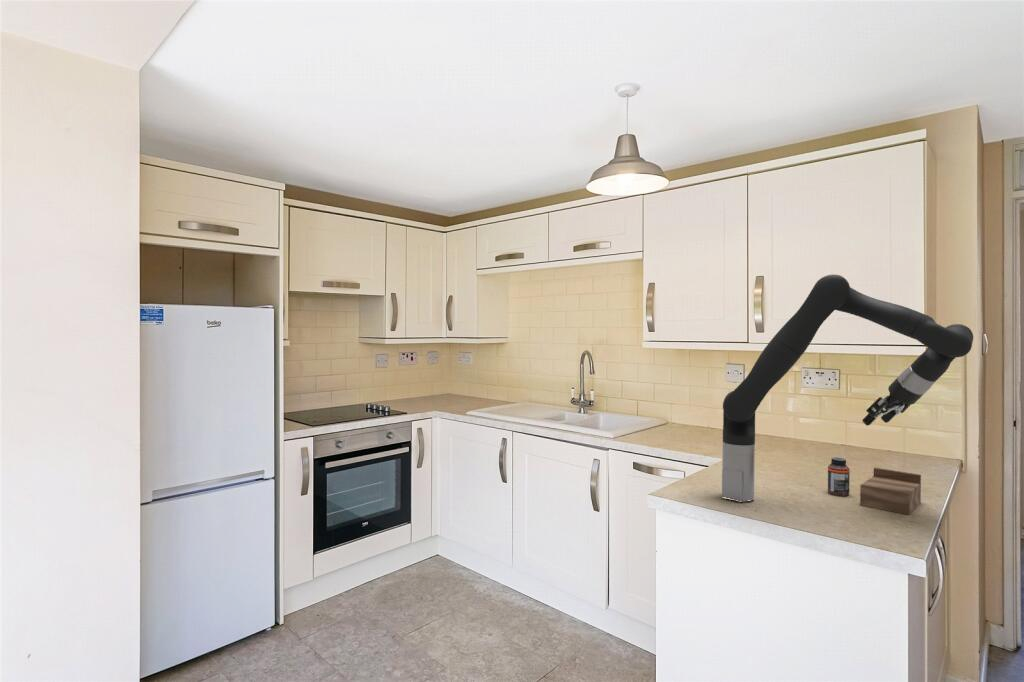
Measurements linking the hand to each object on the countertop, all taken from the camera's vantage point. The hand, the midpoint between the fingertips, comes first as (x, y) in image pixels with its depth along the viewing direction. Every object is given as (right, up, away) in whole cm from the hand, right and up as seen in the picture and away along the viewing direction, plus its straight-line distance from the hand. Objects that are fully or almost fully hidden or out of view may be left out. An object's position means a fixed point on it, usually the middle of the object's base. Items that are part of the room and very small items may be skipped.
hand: (874, 421), depth 165 cm
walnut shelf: (+5, -25, 0) cm, 25 cm away
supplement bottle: (-5, -25, +10) cm, 27 cm away
